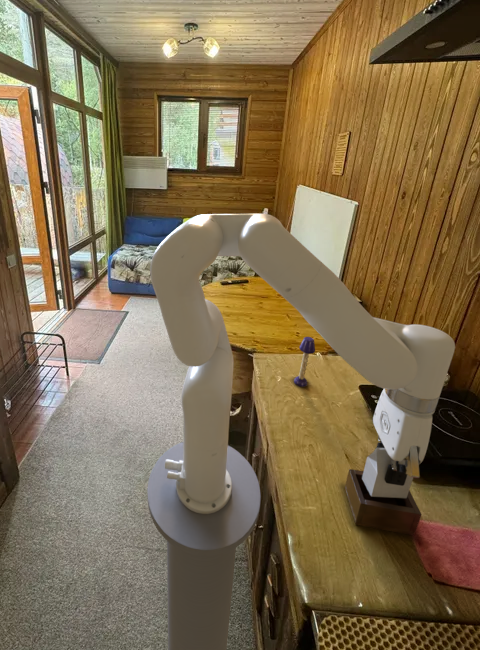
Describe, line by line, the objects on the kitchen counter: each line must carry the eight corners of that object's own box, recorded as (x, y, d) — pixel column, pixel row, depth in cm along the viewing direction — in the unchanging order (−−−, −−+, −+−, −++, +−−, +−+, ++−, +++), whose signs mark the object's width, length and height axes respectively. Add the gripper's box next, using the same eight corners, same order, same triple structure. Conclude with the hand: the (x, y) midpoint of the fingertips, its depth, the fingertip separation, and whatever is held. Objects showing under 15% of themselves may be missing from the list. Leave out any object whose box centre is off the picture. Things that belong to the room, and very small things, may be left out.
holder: (355, 524, 61) (360, 503, 59) (344, 488, 68) (349, 468, 66) (414, 535, 59) (421, 514, 57) (396, 497, 66) (403, 477, 64)
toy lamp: (305, 378, 104) (312, 334, 98) (311, 387, 99) (319, 342, 94) (291, 378, 103) (298, 335, 98) (297, 388, 99) (304, 342, 94)
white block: (406, 498, 59) (419, 458, 56) (371, 496, 60) (381, 457, 56) (395, 479, 63) (406, 442, 60) (361, 478, 63) (371, 440, 60)
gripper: (370, 363, 63) (353, 433, 68) (410, 427, 47) (385, 511, 53) (410, 367, 61) (390, 439, 67) (465, 435, 46) (433, 520, 51)
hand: (388, 470), depth 60 cm, fingers closed on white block, 4 cm apart
